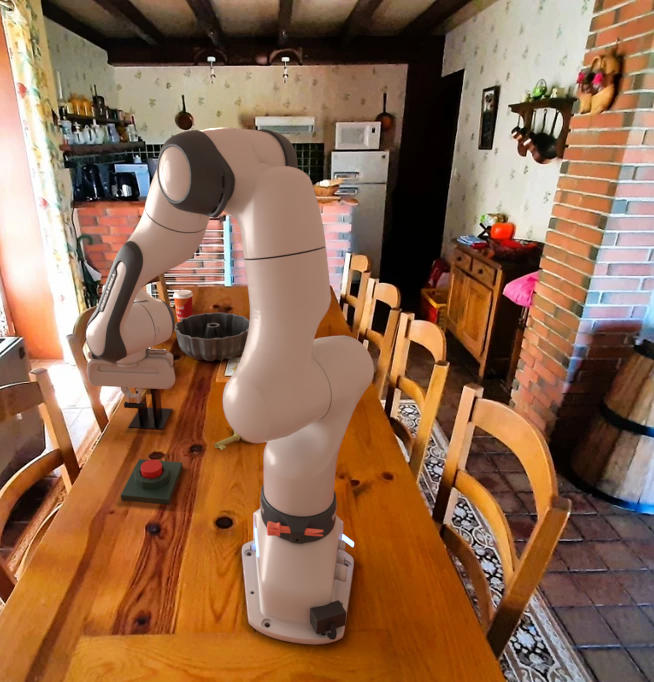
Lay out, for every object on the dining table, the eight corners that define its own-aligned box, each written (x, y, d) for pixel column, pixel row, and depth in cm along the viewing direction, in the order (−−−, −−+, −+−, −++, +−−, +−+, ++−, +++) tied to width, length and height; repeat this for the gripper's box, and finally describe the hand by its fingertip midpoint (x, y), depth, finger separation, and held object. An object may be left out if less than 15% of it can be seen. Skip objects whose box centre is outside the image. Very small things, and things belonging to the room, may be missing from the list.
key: (213, 451, 113) (212, 444, 112) (238, 426, 122) (238, 419, 121) (240, 461, 109) (239, 453, 108) (264, 434, 119) (264, 427, 118)
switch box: (169, 508, 96) (167, 492, 95) (121, 503, 98) (119, 487, 97) (182, 470, 107) (181, 455, 106) (139, 467, 109) (138, 452, 108)
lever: (144, 411, 113) (143, 402, 112) (124, 410, 114) (123, 401, 113) (158, 390, 124) (158, 381, 123) (140, 389, 125) (139, 380, 124)
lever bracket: (162, 433, 121) (158, 391, 117) (128, 430, 123) (123, 389, 119) (172, 412, 130) (169, 373, 126) (140, 410, 132) (136, 372, 128)
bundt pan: (223, 331, 183) (222, 306, 179) (269, 353, 163) (269, 325, 159) (162, 349, 170) (160, 323, 167) (204, 375, 150) (202, 346, 146)
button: (159, 480, 99) (158, 473, 98) (138, 478, 100) (137, 471, 99) (165, 467, 103) (164, 460, 102) (145, 465, 104) (144, 458, 103)
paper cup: (172, 325, 193) (169, 291, 187) (190, 321, 196) (188, 288, 190) (180, 331, 186) (177, 296, 181) (198, 327, 189) (196, 292, 184)
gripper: (176, 344, 109) (180, 397, 114) (91, 341, 113) (99, 393, 119) (169, 355, 103) (174, 411, 109) (80, 352, 108) (89, 406, 113)
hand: (134, 402), depth 114 cm, fingers closed
